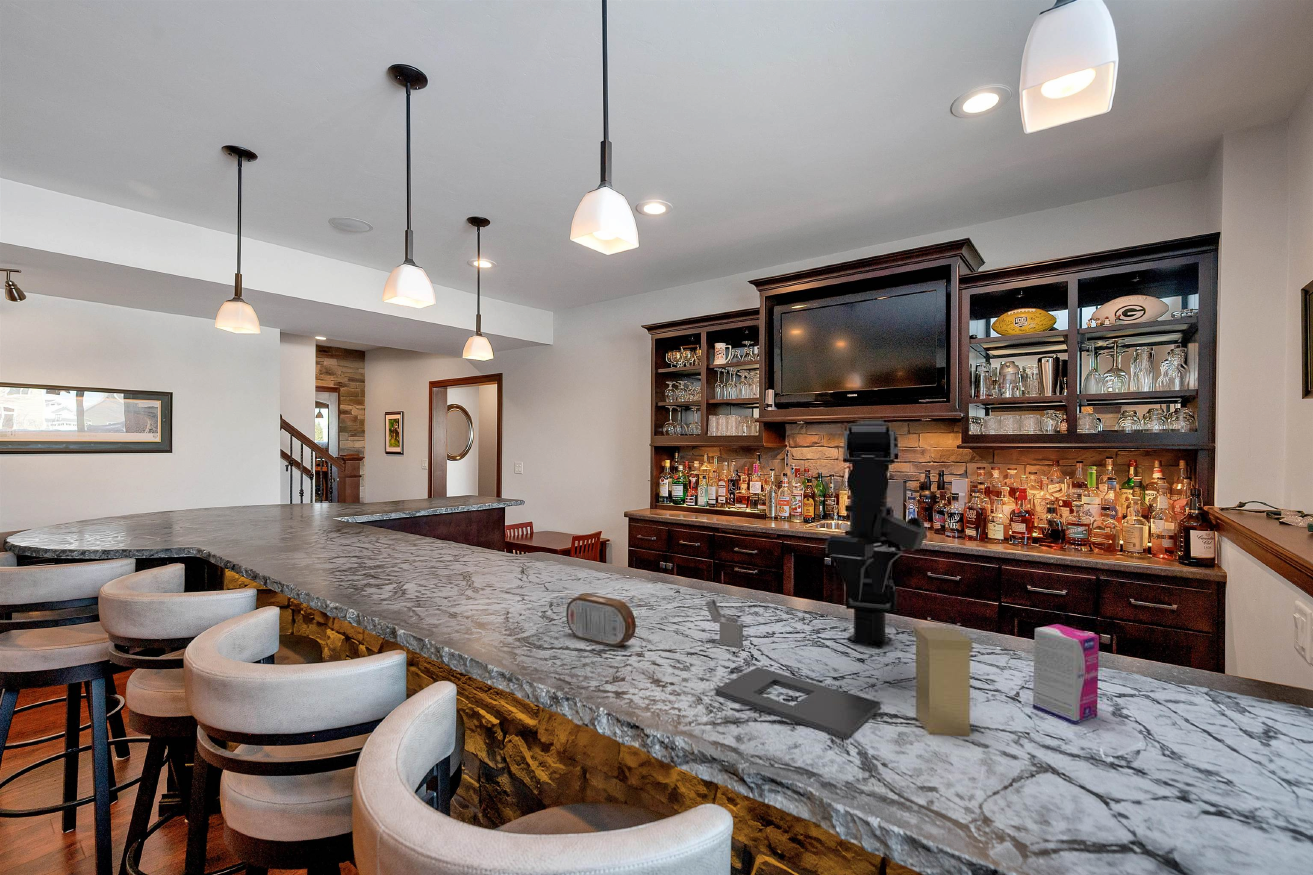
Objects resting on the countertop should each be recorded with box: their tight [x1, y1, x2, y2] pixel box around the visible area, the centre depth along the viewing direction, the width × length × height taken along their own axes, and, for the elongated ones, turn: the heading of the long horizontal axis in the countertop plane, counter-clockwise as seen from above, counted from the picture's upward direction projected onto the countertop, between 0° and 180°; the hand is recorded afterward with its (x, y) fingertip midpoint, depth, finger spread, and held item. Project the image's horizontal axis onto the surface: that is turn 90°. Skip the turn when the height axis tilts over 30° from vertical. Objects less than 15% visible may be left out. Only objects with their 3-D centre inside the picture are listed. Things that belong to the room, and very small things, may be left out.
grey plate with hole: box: [715, 666, 882, 740], centre depth 84 cm, size 12×20×1 cm, turn 50°
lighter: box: [705, 598, 744, 649], centre depth 109 cm, size 7×2×8 cm, turn 61°
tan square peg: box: [913, 626, 973, 737], centre depth 77 cm, size 5×5×12 cm
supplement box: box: [1031, 623, 1100, 725], centre depth 82 cm, size 6×6×12 cm
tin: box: [565, 592, 637, 648], centre depth 110 cm, size 15×3×8 cm, turn 58°
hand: (867, 597), depth 94 cm, fingers open, 9 cm apart
